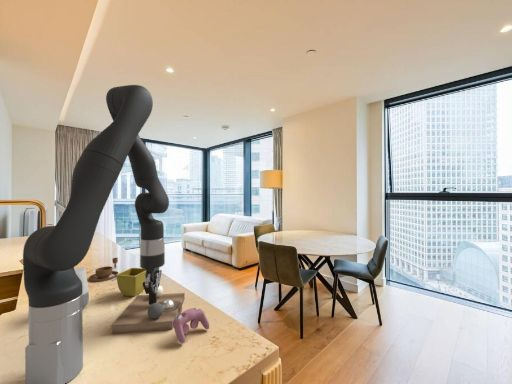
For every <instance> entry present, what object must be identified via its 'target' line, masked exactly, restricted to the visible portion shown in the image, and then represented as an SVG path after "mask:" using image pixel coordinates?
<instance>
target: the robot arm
mask: <svg viewBox="0 0 512 384" xmlns="http://www.w3.org/2000/svg"><path fill="white" fill-rule="evenodd" d="M105 100H106V101H105V102H106V105H107V109H108V111H109V114H110V117H111V119H112V122H111V123H110V124H109V125H108V126H107V127H105V128H104V129H103V130H102V131H101V132H100V133H98V134H97V135H96V136H95V137H94V138H93V139H92V140H91V141H89V143H88V144H86V146H85V148H84V149H83V150H82V153H81V154H80V157H79V158H78V160H77V162H76V164H75V166H74V168H73V172H72V175H71V186H70V187H71V189H70V195H69V200H68V203H67V206H66V207H65V209H64V211H63V213H62V214H61V216H60V218H59V219H58V221H57V223H56V224H55V225H48V226H43V227H40V228H38V229H36V230H35V231H33V232H32V233H31V234H30V235H29V236H28V237H27V239H26V241H25V242H24V246H23V251H22V268H23V269H22V270H23V283H24V284H23V286H24V290H25V292H26V295H27V298H28V344H27V345H26V346H25V348H24V351H25V352H24V354H25V355H24V359H25V367H24V368H25V369H24V370H25V373H24V374H25V381H24V382H25V384H65V383H66V384H67V383H69V382H71V381H72V380H73V379H74V378H76V377H77V376H78V375H79V374H80V373H81V372H82V370H83V367H84V348H83V347H84V344H83V343H84V341H83V340H84V337H83V335H84V332H83V331H84V330H83V329H84V328H83V327H84V326H83V324H84V323H83V309H82V306H83V300H82V292H83V287H82V281H81V280H80V279H79V277H78V276H77V274H76V272H75V270H74V269H75V267H76V266H78V265H79V264H81V262H82V261H83V260H84V259H85V258H86V256H87V254H88V253H89V250H90V248H91V245H92V242H93V239H94V237H95V236H94V235H95V233H96V229H97V226H98V223H99V220H100V217H101V215H102V213H103V210H104V207H105V206H106V204H107V202H108V198H109V197H110V195H111V192H112V190H113V188H114V186H115V183H116V182H117V181H118V178H119V176H120V174H121V171H122V169H123V167H124V165H125V162H126V159H127V158H128V160H129V163H130V168H131V171H132V175H133V179H134V183H135V185H136V186H137V187H138V188H141V189H144V190H146V191H147V192H140V193H139V194H138V195H137V196H136V197H135V202H134V209H135V212H136V215H137V220H138V222H139V225H140V245H139V264H140V266H139V268H143V269H146V273H145V279H146V282H143V288H144V290H143V291H144V292H145V295H149V305H152V304H153V303H156V302H157V291H158V287H159V285H160V282H161V277H162V269H160V268H161V267H163V266H165V263H166V261H165V259H166V258H165V256H166V253H165V250H166V249H165V245H166V244H165V240H164V239H165V238H164V237H165V235H164V222H163V221H161V220H159V219H157V218H156V219H155V218H154V216H153V214H164V213H166V212H167V210H168V209H169V205H170V199H169V196H168V194H167V192H166V190H165V188H164V186H163V185H162V182H161V181H160V179H159V176H158V169H157V166H156V161H155V159H154V157H153V154H152V153H151V151H150V150H149V149H148V147H147V146H146V144H145V143H144V142H143V140H142V138H141V137H140V135H139V134H140V132H141V131H142V128H143V127H144V126H145V124H146V122H147V121H148V120H149V118H150V116H151V114H152V111H153V104H154V103H153V97H152V94H151V92H150V91H149V89H148V88H147V87H145V86H142V85H138V84H128V85H122V86H121V85H120V86H114V87H112V88H110V89H108V90H107V93H106V95H105Z"/></svg>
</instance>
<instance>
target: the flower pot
mask: <svg viewBox="0 0 512 384" xmlns="http://www.w3.org/2000/svg"><path fill="white" fill-rule="evenodd" d="M145 273H146V269H143V268H141V267H130V268H128V269H127V270H124V271H121V272H118V274H117V275H116V277H115V278H117V279H116V282H117V283H116V284H117V287H118V290H119V291H120V292H121V294H122V295H123V296H127V297H137V296H138V295H140V293H142V292H144V291H145V290H144V288H143V282H146V279H145Z"/></svg>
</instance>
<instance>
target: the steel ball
mask: <svg viewBox="0 0 512 384" xmlns="http://www.w3.org/2000/svg"><path fill="white" fill-rule="evenodd" d="M162 306H163V310H168V309H172V308H173V307H175V304H174V302H173V301H172V300H165V301H164V302H163V303H162Z"/></svg>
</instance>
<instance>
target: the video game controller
mask: <svg viewBox="0 0 512 384" xmlns="http://www.w3.org/2000/svg"><path fill="white" fill-rule="evenodd" d="M188 323H189V324H188ZM199 323H200V324H201V325H202V327H203V328H204V329H206V330H209V328H210V322H209V320H208V317H207V316H206V314H205V312H204V310H203V309H202V308H199V307H191V308H189V309H186V310H184V311H182V312H181V314H180V315H178V316H177V317H176V318H175V319H174V321H173V329H174V332H175V335H176V338H177V341H179V343H180V344H181V345H182V344H185V341H186V338H185V335H186V334H188V333H189V331H190V329H193V330H194V329H197V328H198V327H199Z"/></svg>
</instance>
